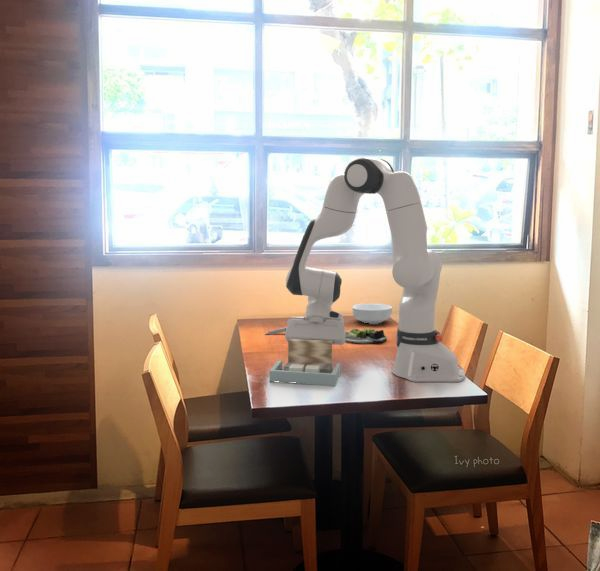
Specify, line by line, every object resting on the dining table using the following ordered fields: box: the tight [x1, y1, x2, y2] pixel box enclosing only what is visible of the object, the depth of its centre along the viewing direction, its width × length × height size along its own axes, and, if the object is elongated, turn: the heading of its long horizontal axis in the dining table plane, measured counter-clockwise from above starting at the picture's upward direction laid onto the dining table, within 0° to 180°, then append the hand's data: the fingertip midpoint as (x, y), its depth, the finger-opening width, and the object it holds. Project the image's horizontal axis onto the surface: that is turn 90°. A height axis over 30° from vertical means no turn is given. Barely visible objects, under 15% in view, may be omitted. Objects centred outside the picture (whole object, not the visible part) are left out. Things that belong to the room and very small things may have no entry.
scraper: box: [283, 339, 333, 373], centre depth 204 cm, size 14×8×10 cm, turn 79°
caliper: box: [264, 326, 287, 335], centre depth 257 cm, size 20×1×6 cm, turn 99°
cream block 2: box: [305, 365, 320, 373], centre depth 198 cm, size 4×4×4 cm
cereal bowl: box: [351, 302, 393, 325], centre depth 278 cm, size 17×17×7 cm
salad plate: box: [345, 328, 387, 344], centre depth 249 cm, size 19×18×5 cm
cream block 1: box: [289, 364, 304, 372], centre depth 199 cm, size 4×4×4 cm
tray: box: [269, 359, 341, 387], centre depth 199 cm, size 20×12×4 cm, turn 79°
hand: (312, 353), depth 211 cm, fingers closed
